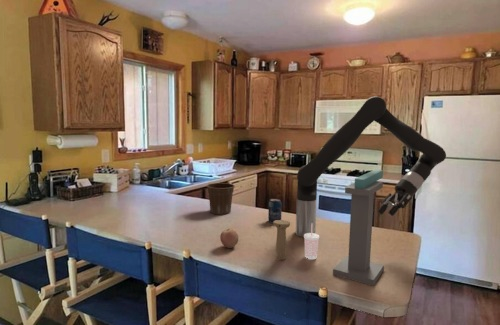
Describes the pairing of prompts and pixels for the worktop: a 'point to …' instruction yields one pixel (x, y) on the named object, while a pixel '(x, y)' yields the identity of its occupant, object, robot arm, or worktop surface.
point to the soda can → (274, 210)
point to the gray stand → (360, 237)
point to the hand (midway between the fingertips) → (384, 213)
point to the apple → (229, 238)
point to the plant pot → (220, 197)
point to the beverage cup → (311, 244)
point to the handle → (281, 238)
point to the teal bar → (368, 178)
